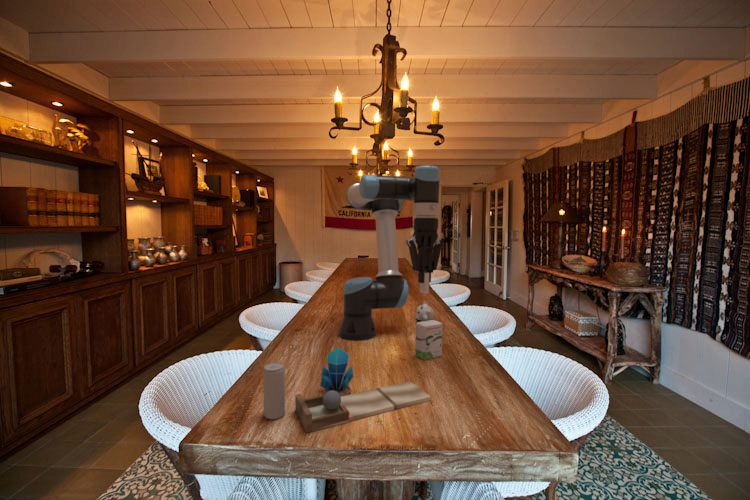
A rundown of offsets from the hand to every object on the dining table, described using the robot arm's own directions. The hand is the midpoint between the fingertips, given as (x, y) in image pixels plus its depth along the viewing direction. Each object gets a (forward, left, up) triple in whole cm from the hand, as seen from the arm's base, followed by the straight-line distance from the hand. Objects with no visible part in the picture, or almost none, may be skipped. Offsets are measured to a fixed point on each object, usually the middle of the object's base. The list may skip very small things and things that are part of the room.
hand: (424, 292), depth 109 cm
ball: (+11, -34, -22) cm, 42 cm away
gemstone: (+3, -30, -25) cm, 39 cm away
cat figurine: (-45, +32, -25) cm, 61 cm away
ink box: (-8, +8, -25) cm, 27 cm away
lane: (+12, -26, -24) cm, 38 cm away
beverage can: (+7, -48, -25) cm, 54 cm away
